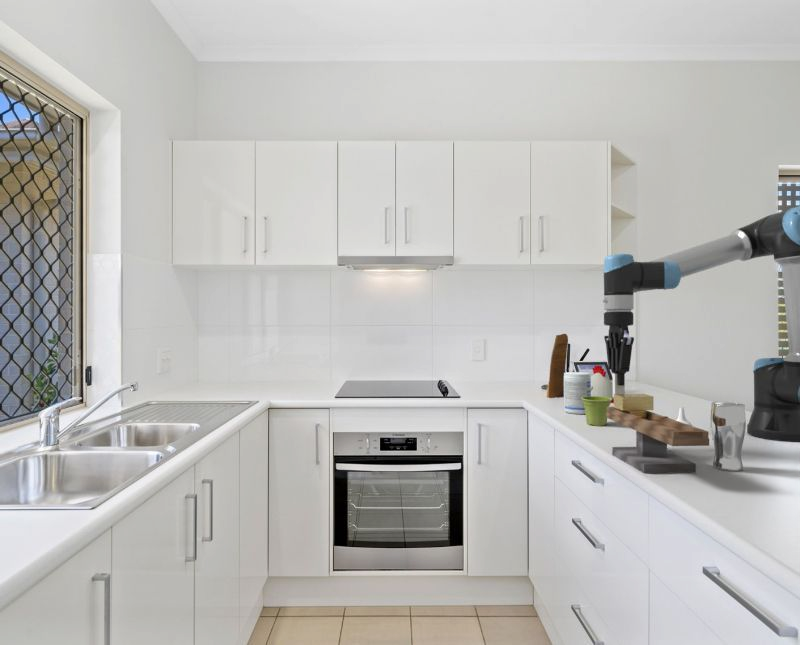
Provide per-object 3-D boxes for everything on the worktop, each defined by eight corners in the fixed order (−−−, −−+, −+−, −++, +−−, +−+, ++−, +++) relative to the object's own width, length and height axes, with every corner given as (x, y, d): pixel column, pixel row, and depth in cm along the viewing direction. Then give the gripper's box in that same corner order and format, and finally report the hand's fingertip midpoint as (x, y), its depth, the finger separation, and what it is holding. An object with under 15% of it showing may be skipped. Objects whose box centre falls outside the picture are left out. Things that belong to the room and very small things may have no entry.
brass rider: (613, 414, 138) (613, 393, 138) (643, 414, 138) (643, 393, 138) (622, 418, 133) (622, 396, 133) (653, 417, 133) (653, 396, 133)
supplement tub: (593, 415, 190) (593, 374, 189) (567, 414, 190) (566, 374, 190) (587, 410, 199) (586, 371, 199) (561, 410, 200) (561, 371, 200)
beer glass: (748, 467, 122) (748, 403, 122) (742, 474, 117) (742, 407, 117) (713, 462, 127) (713, 400, 127) (707, 468, 122) (707, 404, 122)
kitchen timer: (603, 397, 231) (603, 363, 231) (624, 402, 218) (624, 366, 218) (575, 399, 228) (575, 364, 227) (595, 404, 214) (595, 367, 214)
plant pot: (616, 427, 168) (616, 400, 168) (586, 427, 168) (586, 400, 168) (606, 421, 177) (606, 396, 177) (578, 421, 178) (578, 396, 178)
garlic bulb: (665, 432, 163) (663, 407, 162) (680, 429, 165) (679, 404, 164) (682, 436, 157) (680, 410, 156) (698, 433, 159) (696, 407, 158)
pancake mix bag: (573, 394, 241) (573, 333, 241) (556, 399, 227) (556, 334, 226) (559, 392, 246) (558, 333, 245) (542, 397, 231) (541, 334, 231)
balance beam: (599, 447, 142) (599, 406, 142) (642, 446, 143) (642, 405, 143) (663, 484, 110) (663, 431, 110) (718, 483, 111) (718, 430, 111)
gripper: (595, 311, 150) (595, 393, 150) (615, 310, 137) (615, 400, 137) (621, 311, 150) (621, 393, 150) (643, 310, 137) (643, 400, 137)
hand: (618, 396), depth 144 cm, fingers closed
